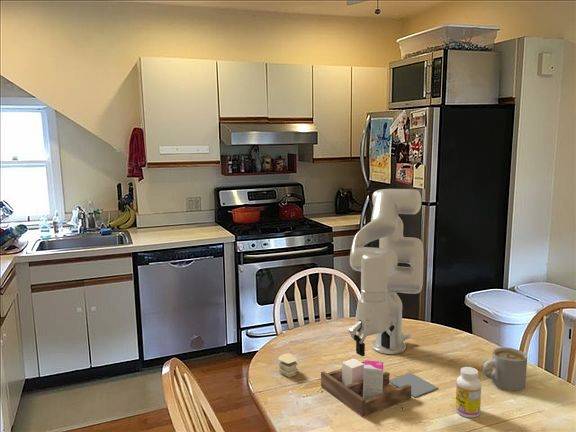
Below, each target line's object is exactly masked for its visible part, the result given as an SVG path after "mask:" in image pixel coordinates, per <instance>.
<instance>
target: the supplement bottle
mask: <svg viewBox="0 0 576 432" xmlns="http://www.w3.org/2000/svg"><path fill="white" fill-rule="evenodd" d="M455 387H456V388H455V389H456V392H455V411H456V413H457V414H459V415H460V416H462V417H465V418H469V419H470V418H476V417H478V416H480V413H481V404H482V403H481V400H482V382H481V380H480V378H479V370H478V369H476V368H474V367H471V366H463V367H461V368H460V375H459V376H458V377H457V379H456V386H455Z"/></svg>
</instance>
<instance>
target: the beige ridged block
mask: <svg viewBox="0 0 576 432" xmlns="http://www.w3.org/2000/svg"><path fill="white" fill-rule="evenodd" d="M277 360H278V361H277V364H278V367H277V369H278V371H279V372H278V373H279V374H280V375H284V376H285V377H287V378H291V377H295V376H297V371H299V370H298V368H297V366H298V363H297V361H298V359H297V357H295V356H294V355H293V354H292V353H289V352H287V353H283V354H281V355H279V356H278V357H277Z"/></svg>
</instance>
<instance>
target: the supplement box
mask: <svg viewBox="0 0 576 432" xmlns="http://www.w3.org/2000/svg"><path fill="white" fill-rule="evenodd" d="M364 361H365V363H364V385H363V394H362V398H364V399H365V400H367V399H370V398H372V397H375V396H378V395H380V394H383V391H384V390H383V389H384V387H383V373H384V361H378V360H368V359H365V360H364Z"/></svg>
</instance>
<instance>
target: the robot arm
mask: <svg viewBox="0 0 576 432" xmlns="http://www.w3.org/2000/svg"><path fill="white" fill-rule="evenodd" d="M371 201H372V205H373V207H372V213H371V218H370V222H367V224H365V225H364V226H362V228H361V229H360V230H358V231H357V233H356V234H355V235H354V237H353V239H352V244H351V248H350V253H349V265H350V267H351V269H352V270H353V271H356V272H360V299H358V301H357V306H356V311H355V312H356V313H355V322H354V323H355V324H353V325H352V326H351V327H350V328H349V329H348V331H349V334H350V336H351V338H352V339H353V340H354V341H355V353H356V354H357V355H359V356H361V357H365V355H366V343H365V340H366V338H367V337H369V336H370V337H371V336H373V335H375V339H374V340H373V341H372V342H371V348H372V349H373V350H374V351H376V352H378V353H381V354H385V355H397V354H401V353H403V352H405V350H406V348H407V347H406V344H405V341H406V340H409V339H411V338H412V337H411V333H408V332H407V333H406V334H404V333H403V332H402V331H403V325H402V324H403V302H402V299H401V298H400V296H399V295H398V293H400V294H414V295H415V294H419V293H420V292H421V291H422V290H423V285H424V284H423V283H424V254H425V253H424V252H425V251H424V244H423V242H422V240H421V239H420V238H418V237H406V236H404V222H403V220H402V219H401V217H400V216H399V215H416V214H417V213H419V212H420V210H421V207H422V195H421V193H420V191H419V190H418V189H411V188H385V189H383V188H382V189H378V190H375V191H374V192H373V193H372V200H371ZM377 240H379V241H378V243H379V246H378V247H373V246H371V247H370V246H365V245H367V244H369V243H371V242H373V241H377ZM400 263H401V264H408V265H409V266H399V265H398V264H400Z"/></svg>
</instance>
